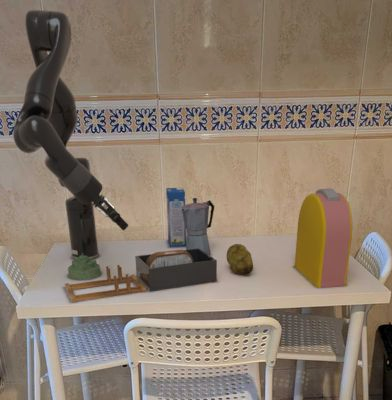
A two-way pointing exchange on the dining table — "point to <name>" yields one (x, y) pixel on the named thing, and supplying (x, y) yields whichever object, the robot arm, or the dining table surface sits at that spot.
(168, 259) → the tin
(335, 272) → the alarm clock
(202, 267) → the dark grey open box
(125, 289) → the dish rack
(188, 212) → the moka pot
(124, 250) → the dining table surface
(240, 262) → the olive green oval lump
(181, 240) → the milk carton
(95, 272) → the decorative artifact
